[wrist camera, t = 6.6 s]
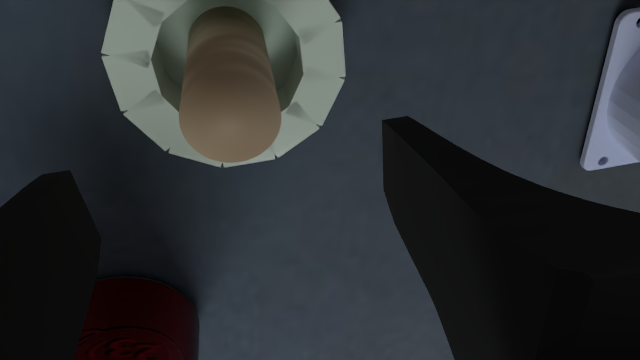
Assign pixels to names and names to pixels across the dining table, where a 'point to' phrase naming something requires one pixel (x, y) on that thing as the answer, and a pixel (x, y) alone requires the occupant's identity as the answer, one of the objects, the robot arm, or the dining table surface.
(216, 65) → the dowel
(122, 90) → the sage green bowl
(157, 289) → the soda can
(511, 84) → the dining table surface
